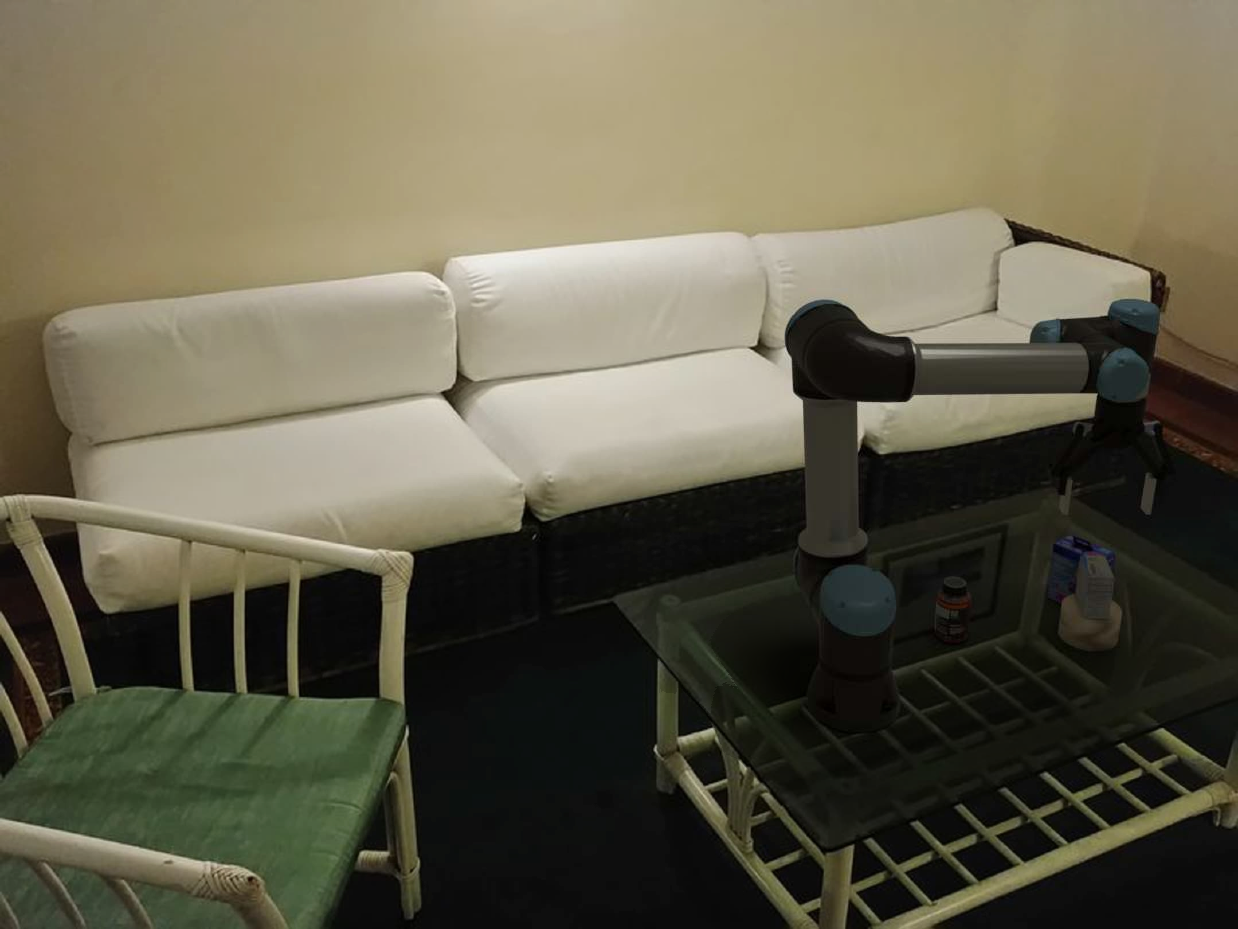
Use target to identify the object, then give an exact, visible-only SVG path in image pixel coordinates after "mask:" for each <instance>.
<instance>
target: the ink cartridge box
mask: <svg viewBox="0 0 1238 929" xmlns="http://www.w3.org/2000/svg"><path fill="white" fill-rule="evenodd" d="M1052 544H1053V545H1052V552H1051V563H1050V572H1049V579H1048V588H1047V595H1046V596H1047V597H1046V598H1047V599H1050V600H1052V601H1054V602H1057V603H1059V604H1061V605H1062V601H1063V599H1064V598H1066V597H1067V596H1070V595H1073V594H1075V592H1076V584H1077V577H1078V569H1079V561H1080V556H1083V555H1093V556H1105V557H1106V559H1107V561H1108V564H1109V566H1110V569H1111V571H1112V573H1113V572H1114V567H1115V559H1116V552H1115V551H1114V550H1112V549H1110V548H1107V547H1103V546H1101V545H1098V544H1096V543H1092V542H1091V541H1090V540H1087V539H1084V538H1082V537H1079V536H1077V535H1073V534H1070V533H1069V534H1066V535H1065V536H1063V537H1061V538H1058V539H1057V540H1056V541H1054V542H1053V543H1052ZM1113 574H1114V573H1113Z"/></svg>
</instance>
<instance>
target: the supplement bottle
mask: <svg viewBox="0 0 1238 929" xmlns="http://www.w3.org/2000/svg"><path fill="white" fill-rule="evenodd" d="M942 583H943V584H942V587H941V588H940V589H938V591H937V595H936V601H935V603H936V606H935V614H934V615H935V617H934V635H935V637H936V638H938V639H939V640H941V641H942V642H944V643H949V644H958V643H962V642H964V641H966V640H967V639H968V638H969V630H970V620H971V619H970V617H971V609H972V608H971V607H972V604H971V603H972V595H971V593H970V591H969V590H968V589H967V585H968V583H967V580H965V579H964V578H962V577H960V576H954V575H953V576H948V577H945V578H944V579H943V582H942Z"/></svg>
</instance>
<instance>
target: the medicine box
mask: <svg viewBox="0 0 1238 929" xmlns="http://www.w3.org/2000/svg"><path fill="white" fill-rule="evenodd" d="M1114 584H1115V576H1114V573H1112V571H1111V569H1110V566H1109V564H1108V561H1107V559H1106V557H1105V556H1093V555H1083V556H1080V561H1079V569H1078V577H1077V584H1076V592H1075V597H1076V599H1077V602H1078V605H1079V607H1080V610H1081V613H1082V615H1083V618H1084V619H1103V620H1108V619H1109V616H1110V608H1111V601H1112V600H1113V592H1114Z"/></svg>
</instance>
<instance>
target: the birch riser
mask: <svg viewBox="0 0 1238 929" xmlns="http://www.w3.org/2000/svg"><path fill="white" fill-rule="evenodd" d="M1059 615H1060V616H1059V621H1058V622H1059V623H1058V629H1057V633H1058V634H1057V635H1058V636H1059V638H1060V640H1062V641H1063V642H1064V643H1066V644H1067V645H1069V646H1071V647H1073V648H1076V649H1079V650H1083V651H1087V652H1104V651H1109V650H1111V649H1114V648H1115V647H1116V646H1117V644H1118V643H1119V637H1120V636H1119V635H1120V630H1121V624H1122V617H1123V609H1122V608H1121V606H1120V605H1119V604H1118V603H1117V602H1115V601H1114V600H1113V599H1112V601H1111V608H1110V616H1109V619H1108V620H1103V619H1084V618H1083V615H1082V613H1081V610H1080V607H1079V605H1078V602H1077V599H1076V597H1075V594H1073V595H1070V596H1067V597H1066V598H1064V599H1063V601H1062V604H1061V607H1060V614H1059Z"/></svg>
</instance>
